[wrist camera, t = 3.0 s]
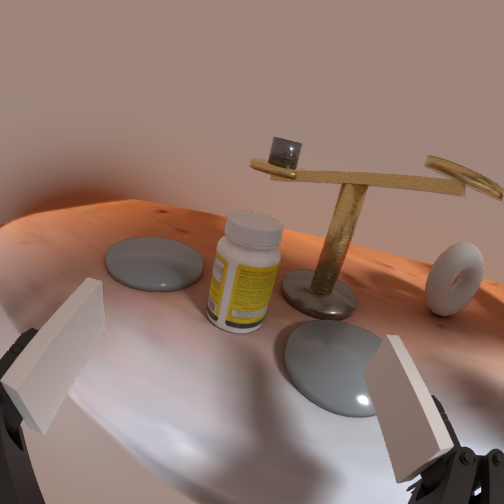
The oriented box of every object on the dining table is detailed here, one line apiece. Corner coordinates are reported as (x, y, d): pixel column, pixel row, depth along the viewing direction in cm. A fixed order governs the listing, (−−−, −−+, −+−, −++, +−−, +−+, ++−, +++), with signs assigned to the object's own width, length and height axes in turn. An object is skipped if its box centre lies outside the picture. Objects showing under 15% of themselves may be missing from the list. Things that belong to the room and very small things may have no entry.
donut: (452, 307, 33) (481, 244, 29) (466, 321, 30) (498, 255, 26) (407, 305, 31) (439, 230, 28) (421, 321, 28) (458, 243, 24)
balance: (265, 241, 40) (293, 124, 34) (432, 351, 23) (503, 195, 17) (216, 247, 35) (244, 110, 29) (404, 390, 18) (506, 185, 12)
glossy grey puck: (334, 315, 27) (337, 308, 26) (416, 374, 20) (421, 367, 20) (255, 350, 20) (258, 342, 20) (358, 442, 14) (365, 436, 13)
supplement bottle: (272, 316, 25) (299, 224, 21) (245, 344, 21) (273, 239, 17) (225, 293, 26) (243, 204, 23) (193, 315, 22) (208, 214, 19)
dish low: (176, 239, 35) (177, 233, 34) (221, 281, 28) (222, 274, 28) (97, 248, 28) (97, 241, 28) (121, 300, 22) (121, 292, 21)
